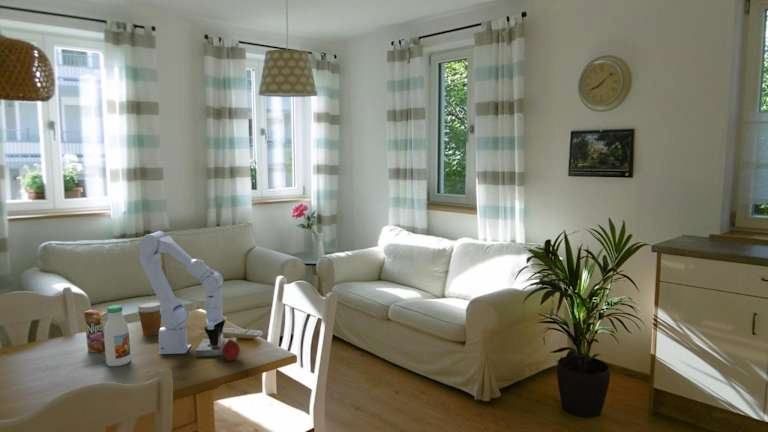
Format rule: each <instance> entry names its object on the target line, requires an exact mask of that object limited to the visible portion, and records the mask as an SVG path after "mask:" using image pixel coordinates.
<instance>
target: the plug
mask: <svg viewBox="0 0 768 432" xmlns="http://www.w3.org/2000/svg"><path fill="white" fill-rule="evenodd" d="M223 338H224V331H222V332H219V337H218V345H217V346H222V345H223V344H224V341H223ZM210 347H213V346H211V344H210Z"/></svg>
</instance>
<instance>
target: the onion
mask: <svg viewBox="0 0 768 432" xmlns="http://www.w3.org/2000/svg"><path fill="white" fill-rule="evenodd" d="M228 338H229V340H228V342H226V343H225V345H224V346H223V348H222V353H223V355H224V356H223V357H224V358H226V360H228V361H230V362H231V361H234V360H235V359H236V358H237V357H238V356H239V354H240V353H241V351H240V349H241V348H240V346H239V345H238V343H237V341H236V342H235V341H233V340H232V339H231V338H232V337H228Z"/></svg>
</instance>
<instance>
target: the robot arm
mask: <svg viewBox="0 0 768 432" xmlns="http://www.w3.org/2000/svg"><path fill="white" fill-rule="evenodd" d="M138 247H139V262H140V264H141V266H142V268H143V270H144V272H145V274H146V277H147V279H148V281H149V283H150V285H151V287H152V289H153V291H154V293H155V296H156V297H157V299H158V300H157V301H159V302H160V304H161V309H160V314H161V325H163V326H162V327H160V330H159V334H157V335H158V346H159V347H158V349H159V350H158V351H159V352H158V354H159V355H171V354H173V355H174V354H176V355H177V354H186V353H187V352H188V351H189V349H190V348H191V346H192V344H188V329H187V320H188V318H189V314H190V313H189V310H188V308H187V307H186V306H184V305H183V303H182V301H181V300H179V299H178V298H176V296H175V294H174V292H173V290H172V287H171V286H170V284H169V282H168V279H167V277H166V275H165V273H164V271H163V268H162V266H161V265H160V262H159V260H158V258H159V257H160V255H161V253H163V254H164V253H165V254H170V256H172V257H173V258H175V259H176V260H177V261H178V262H180V263H182V264H183V265H184V266H186V271H187V272H188V274H190V275H191V276H192V277H194V279H196V280H197V281H198V282H200V283H201V287H202V288H203V289H204V293H205V294H204V295H205V298H204V299H205V314H206V315H205V316H206V318H205V321H206V324H207V325H205V327H204V328H203V329H204V331H205V333H206V335H207V337H208V339H209V340H210V344H211V346H217V345H218V337H219V332H223V331H224V325H225V323H226V321H227V316H224V311H223V310H224V309H223V293H222V292H223V291H222V285H223V283H224V276H223V275H222V274H221V272H219V271H215V270H214V268H210V267H209V266H208V265H206V264H205V261H204V260H203V259H199V258H193V257H192V256H190V255H189V254H188V253H187V252H186V250H184V249H183V248H182V247H181V246H180V245H178V243H176V241H175V240H174V239H173V237H172V236H170V235H168V233H166V232H165V231H163V230H158V231H154V232H152V233H150V234H149V233H147V234H145V235H144V236H142V237H141V239H140V241H139V243H138Z"/></svg>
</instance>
